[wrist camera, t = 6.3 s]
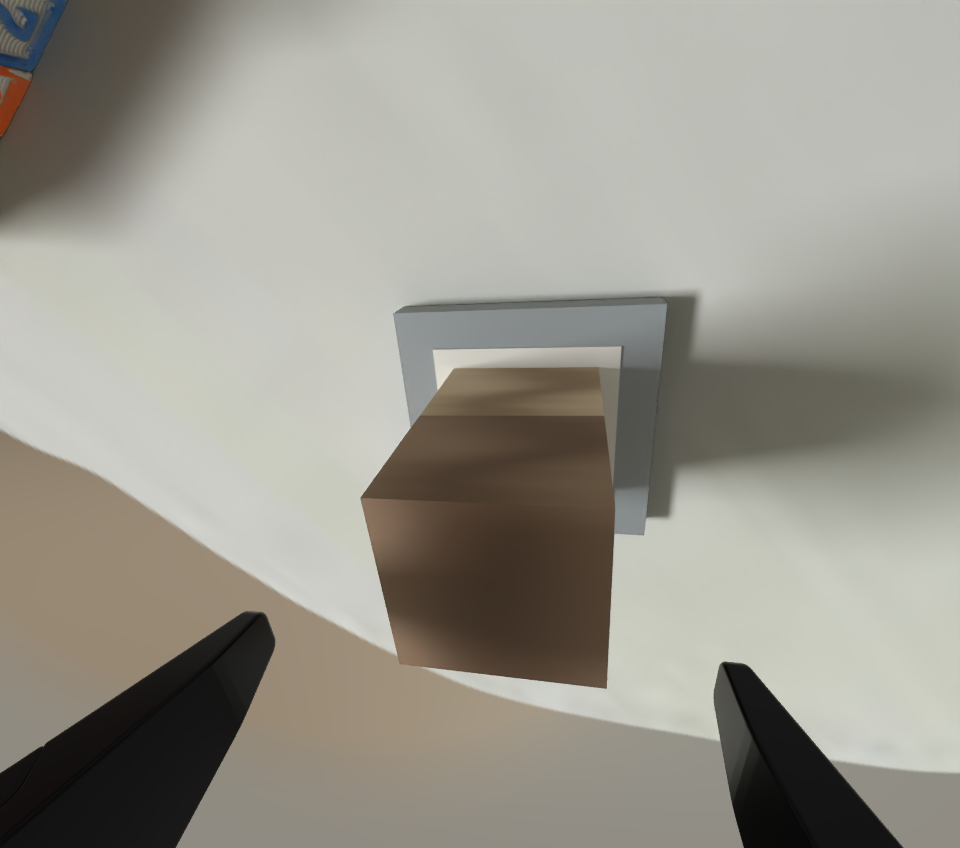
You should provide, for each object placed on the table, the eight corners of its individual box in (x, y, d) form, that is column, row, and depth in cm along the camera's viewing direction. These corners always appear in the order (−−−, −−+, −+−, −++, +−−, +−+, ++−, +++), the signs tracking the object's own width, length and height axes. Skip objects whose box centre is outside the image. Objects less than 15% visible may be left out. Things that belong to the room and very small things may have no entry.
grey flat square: (661, 297, 15) (667, 304, 14) (640, 518, 19) (644, 537, 18) (403, 306, 17) (392, 314, 16) (432, 506, 21) (424, 523, 20)
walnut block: (604, 415, 12) (615, 508, 8) (599, 564, 14) (606, 688, 10) (419, 415, 13) (360, 498, 9) (441, 554, 15) (399, 663, 12)
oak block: (598, 367, 15) (604, 418, 12) (593, 492, 18) (597, 566, 14) (453, 368, 16) (420, 415, 13) (466, 486, 19) (439, 554, 15)
